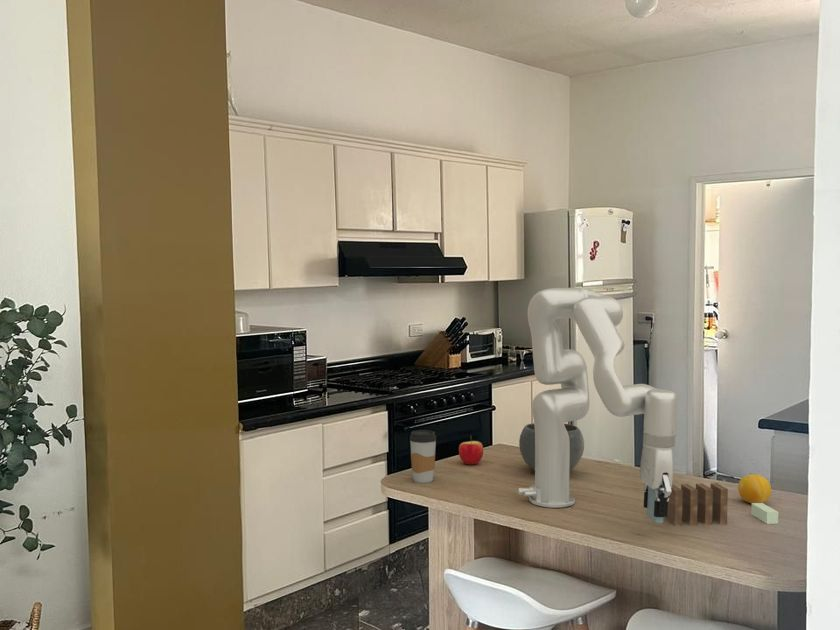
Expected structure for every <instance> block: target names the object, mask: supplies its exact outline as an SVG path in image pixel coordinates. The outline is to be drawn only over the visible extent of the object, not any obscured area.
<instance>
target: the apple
mask: <svg viewBox="0 0 840 630" xmlns="http://www.w3.org/2000/svg"><path fill="white" fill-rule="evenodd" d="M470 438H472V435H470ZM458 455H459V457H460V458H459V459H460V460H461V461H462V462H463V463H464V464H466V465H477V464H478V463H480V462H481V460H482V458H483V455H484V445H483V443H482V442H480V441H478V440H470V441H463V442H461V443H460V444H459V446H458Z"/></svg>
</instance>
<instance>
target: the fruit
mask: <svg viewBox="0 0 840 630" xmlns="http://www.w3.org/2000/svg"><path fill="white" fill-rule="evenodd" d="M737 491H738V494H739V497H740V498H741V499H742V500H743V501H744V502H746V503H749V504H752V503H763V504H765V503H766V502H767V501H768V500H769V499H770V498H771V494H772V486H771V484H770V482H769V480H768V479H767V478H766V477H764V476H762V474H761V475H760V474H757V473H756V474H755V473H754V474H753V473H752V474H747V475H744V476H743V477H741V478H740V479H739V480H738V485H737Z"/></svg>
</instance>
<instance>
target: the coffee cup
mask: <svg viewBox="0 0 840 630" xmlns="http://www.w3.org/2000/svg"><path fill="white" fill-rule="evenodd" d="M436 441H437V435H436V432H435V431H432V430H428V429H427V430H426V429H423V430H422V429H419V430H413V431H411V434H410V435H409V443H410V461H411V473H412V480H413V482H415V483H418V484H428V483H432V482H433V480H434V475H435V474H434V473H435V464H436V446H437V445H436V443H437V442H436Z"/></svg>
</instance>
